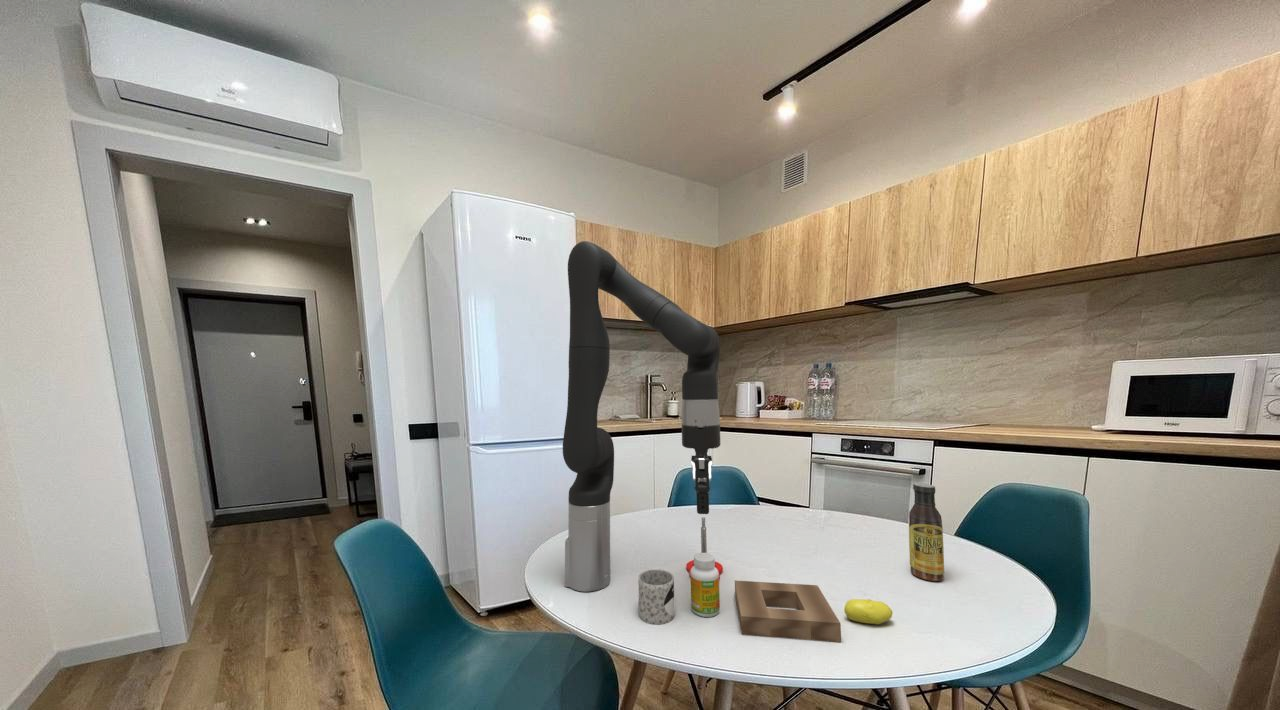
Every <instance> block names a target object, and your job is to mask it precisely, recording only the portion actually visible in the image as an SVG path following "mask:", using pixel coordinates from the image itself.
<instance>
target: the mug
mask: <svg viewBox="0 0 1280 710" xmlns="http://www.w3.org/2000/svg"><path fill="white" fill-rule="evenodd" d="M638 618H639V619H640V620H641V621H642V622H644V623H645V624H648V625H652V626H653V625H655V626H662V625H666V624H669V623H670V622H672V621H673V620H674V619H675V577H674V575H673V574H672V573H671V572H670V571H667V570H664V569H660V568H659V569H650V570H645V571H642V572H641V573H640V574H639V575H638Z"/></svg>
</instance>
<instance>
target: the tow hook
mask: <svg viewBox="0 0 1280 710" xmlns="http://www.w3.org/2000/svg"><path fill="white" fill-rule="evenodd" d="M700 544H701V545H700V546H701V547H700V548H701V552H700V553H708V552H707V549H708V548H707V544H708V543H707V527H706V517H704V516H702V517H701V527H700ZM693 566H695V565H694V559H692V560H689V561H688V562H687V563H686V564H685V567H686V570H687V572H689V574H690V573H691V568H692V567H693ZM714 567H715V568H716V569H717V570H718V572H719V580H720V579H721V574H722V573H723V571H724V567H723V564H721V563H720V562H718V561H716V560H715V566H714Z"/></svg>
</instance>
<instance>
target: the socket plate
mask: <svg viewBox="0 0 1280 710" xmlns="http://www.w3.org/2000/svg"><path fill="white" fill-rule="evenodd" d="M734 598H735V604H736V610H737V615H738V622H739V627H740V633H741V636H752V637H753V636H756V637H766V638H767V637H768V638H780V639H792V640H793V639H794V640H806V641H815V642H816V641H819V642H820V641H821V642H829V643H830V642H831V643H832V642H833V643H842V631H841V630H842V627H841V622H840V620H839V618H838V617H837V614H835V612H834V610H833V608H832V606H831V605H830V604H829V602H828V601H827V599H826V596H825V595H824V594H823V592H822V591H821V589H820V587H819V585H817V584H805V583H804V584H802V583H801V584H800V583H786V582H785V583H784V582H769V581H751V580H750V581H749V580H734Z"/></svg>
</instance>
